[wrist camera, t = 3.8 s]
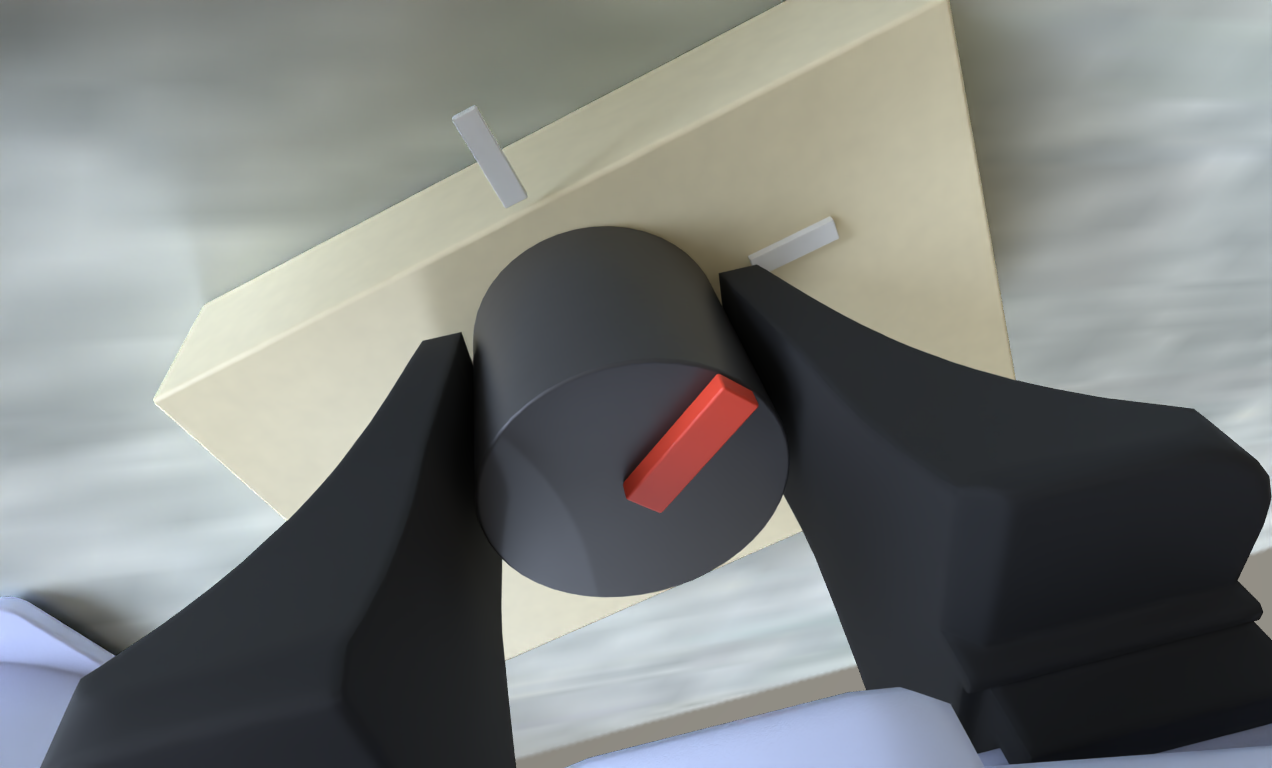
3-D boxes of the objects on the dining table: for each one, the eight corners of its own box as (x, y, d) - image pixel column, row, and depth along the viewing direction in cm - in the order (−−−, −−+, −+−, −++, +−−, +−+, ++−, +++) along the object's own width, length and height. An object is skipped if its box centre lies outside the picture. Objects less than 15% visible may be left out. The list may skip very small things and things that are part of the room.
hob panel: (463, 576, 20) (463, 687, 17) (132, 233, 14) (57, 330, 11) (954, 353, 18) (1032, 440, 16) (837, -148, 12) (934, -137, 10)
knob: (627, 465, 14) (671, 645, 11) (426, 379, 13) (414, 564, 10) (768, 301, 13) (864, 456, 10) (562, 175, 11) (599, 316, 8)
